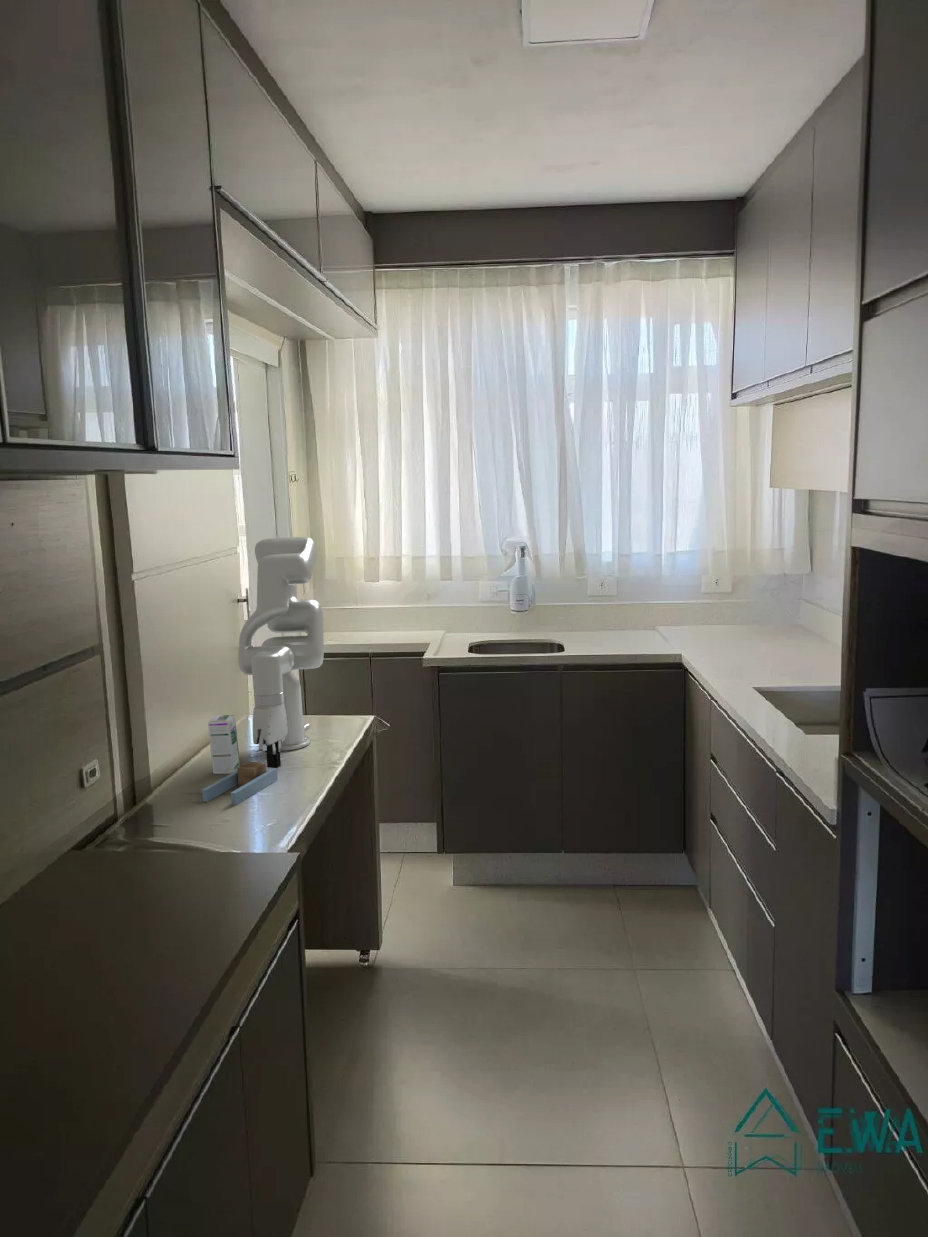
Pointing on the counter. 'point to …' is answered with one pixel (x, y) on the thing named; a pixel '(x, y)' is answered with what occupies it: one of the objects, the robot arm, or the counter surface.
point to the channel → (241, 792)
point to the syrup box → (224, 744)
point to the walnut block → (250, 772)
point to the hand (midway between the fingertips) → (274, 766)
